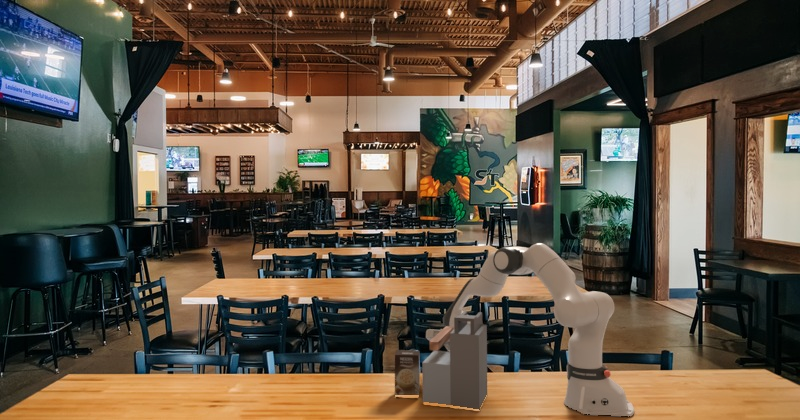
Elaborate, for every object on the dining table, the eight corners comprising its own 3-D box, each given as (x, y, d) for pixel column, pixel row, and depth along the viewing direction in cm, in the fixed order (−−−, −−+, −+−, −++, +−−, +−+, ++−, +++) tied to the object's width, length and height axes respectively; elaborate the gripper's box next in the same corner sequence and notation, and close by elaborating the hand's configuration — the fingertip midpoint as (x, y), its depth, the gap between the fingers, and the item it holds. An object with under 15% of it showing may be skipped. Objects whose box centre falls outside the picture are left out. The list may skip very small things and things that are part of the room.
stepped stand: (487, 395, 190) (486, 309, 190) (479, 411, 175) (478, 319, 175) (434, 389, 197) (433, 307, 196) (422, 405, 181) (421, 315, 181)
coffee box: (394, 398, 188) (393, 354, 188) (395, 392, 194) (395, 349, 194) (419, 399, 187) (418, 355, 187) (420, 392, 193) (419, 350, 193)
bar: (453, 334, 203) (453, 326, 203) (437, 350, 181) (437, 342, 181) (446, 333, 204) (446, 326, 204) (429, 350, 182) (429, 341, 182)
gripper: (431, 331, 216) (422, 321, 205) (479, 335, 210) (474, 325, 198) (429, 346, 214) (420, 337, 202) (478, 351, 207) (472, 341, 195)
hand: (447, 331), depth 200 cm, fingers closed on bar, 3 cm apart
